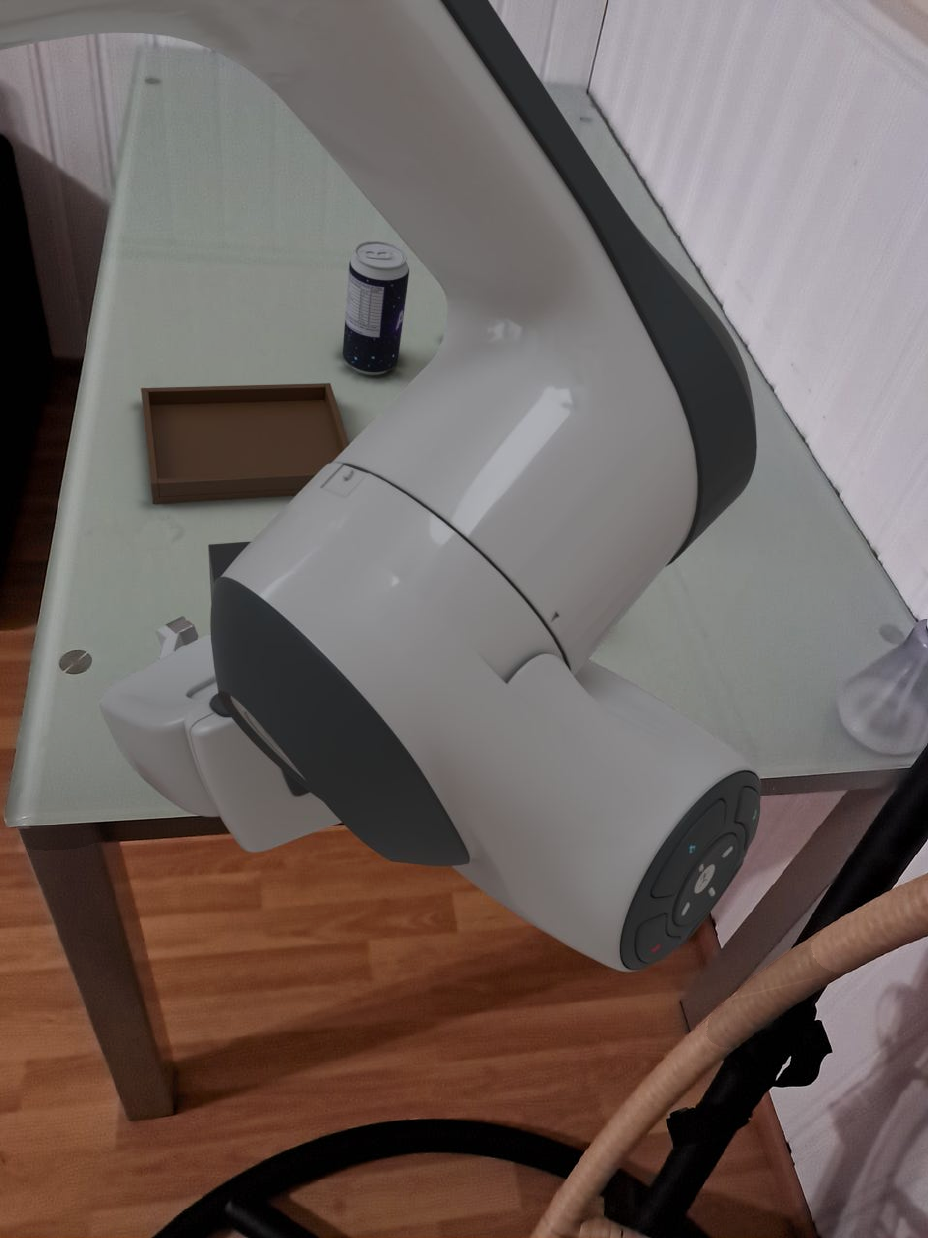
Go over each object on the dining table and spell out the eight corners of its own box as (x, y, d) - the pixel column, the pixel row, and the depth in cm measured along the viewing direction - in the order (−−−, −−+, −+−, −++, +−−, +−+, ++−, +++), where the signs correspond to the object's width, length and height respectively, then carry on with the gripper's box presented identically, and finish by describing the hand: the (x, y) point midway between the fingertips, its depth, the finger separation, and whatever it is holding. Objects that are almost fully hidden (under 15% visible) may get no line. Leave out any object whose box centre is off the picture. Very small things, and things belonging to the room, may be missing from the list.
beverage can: (399, 381, 97) (413, 271, 88) (343, 378, 96) (352, 266, 87) (394, 349, 100) (407, 241, 92) (340, 346, 99) (348, 236, 90)
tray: (152, 504, 79) (150, 483, 78) (143, 408, 87) (140, 387, 86) (356, 492, 84) (358, 472, 83) (329, 402, 92) (330, 382, 91)
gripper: (571, 518, 43) (399, 462, 53) (155, 755, 34) (43, 631, 44) (589, 635, 46) (423, 560, 56) (214, 880, 37) (96, 738, 47)
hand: (254, 593), depth 50 cm, fingers open, 8 cm apart
